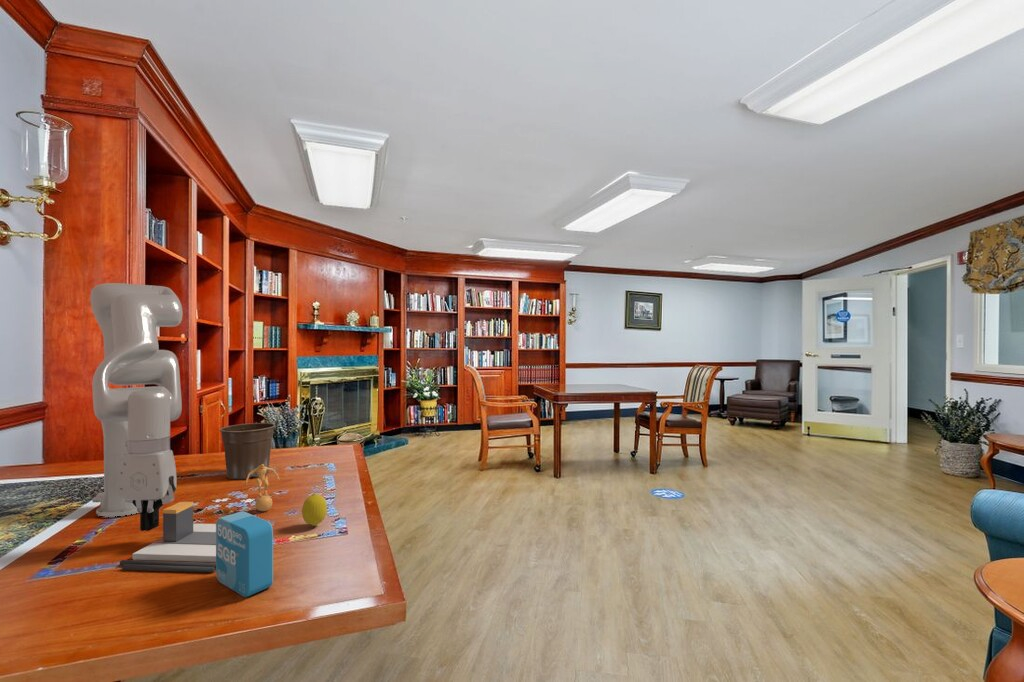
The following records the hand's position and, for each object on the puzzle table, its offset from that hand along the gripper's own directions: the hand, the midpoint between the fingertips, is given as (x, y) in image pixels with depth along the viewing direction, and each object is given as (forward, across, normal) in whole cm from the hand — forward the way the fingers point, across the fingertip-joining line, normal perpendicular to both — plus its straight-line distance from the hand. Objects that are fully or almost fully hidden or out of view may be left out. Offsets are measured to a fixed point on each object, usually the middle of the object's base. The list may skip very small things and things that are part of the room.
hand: (149, 528), depth 105 cm
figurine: (+3, +13, +21) cm, 25 cm away
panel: (+3, +13, 0) cm, 14 cm away
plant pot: (+3, -11, +52) cm, 53 cm away
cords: (+3, +13, -10) cm, 17 cm away
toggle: (+2, +7, 0) cm, 7 cm away
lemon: (+3, +32, +11) cm, 34 cm away
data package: (+3, +32, -16) cm, 36 cm away
